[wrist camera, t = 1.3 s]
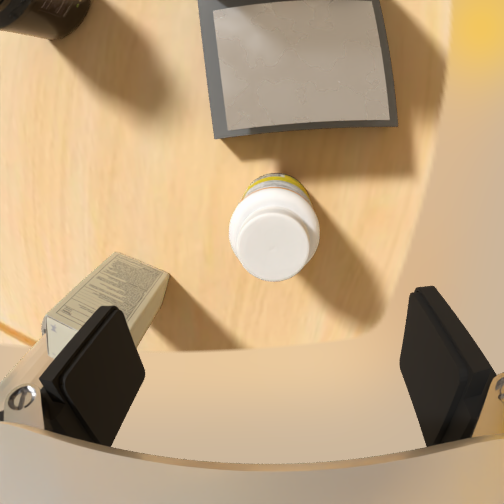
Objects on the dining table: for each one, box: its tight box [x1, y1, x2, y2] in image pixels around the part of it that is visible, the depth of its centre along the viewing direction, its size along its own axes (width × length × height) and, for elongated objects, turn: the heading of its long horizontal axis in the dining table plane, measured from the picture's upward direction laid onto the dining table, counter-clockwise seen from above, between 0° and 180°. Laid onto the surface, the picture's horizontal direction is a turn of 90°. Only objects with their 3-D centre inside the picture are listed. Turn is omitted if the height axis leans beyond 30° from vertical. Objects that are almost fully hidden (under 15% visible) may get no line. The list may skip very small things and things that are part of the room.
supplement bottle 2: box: [229, 173, 320, 282], centre depth 22 cm, size 6×6×10 cm
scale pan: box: [213, 0, 390, 130], centre depth 19 cm, size 9×11×2 cm
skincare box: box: [45, 252, 170, 359], centre depth 25 cm, size 6×4×12 cm
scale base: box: [198, 0, 398, 139], centre depth 16 cm, size 16×14×11 cm
